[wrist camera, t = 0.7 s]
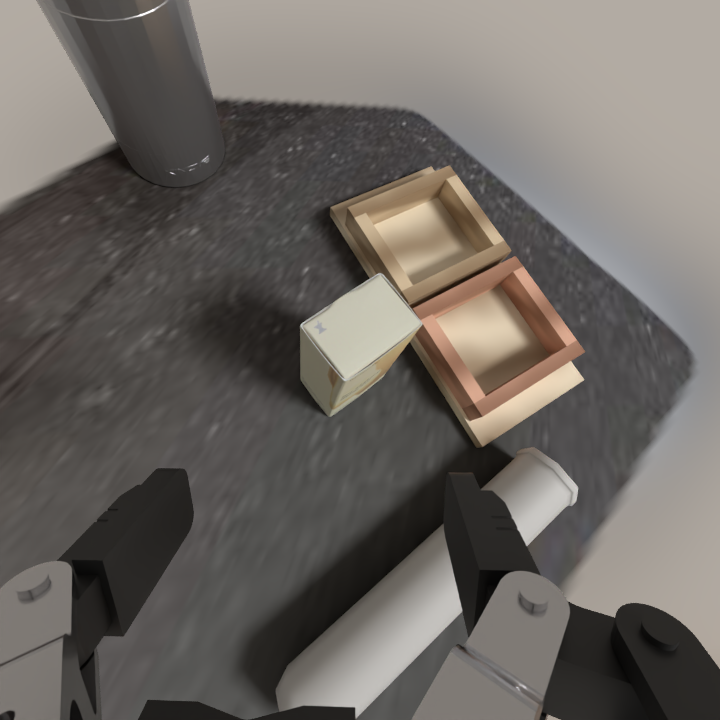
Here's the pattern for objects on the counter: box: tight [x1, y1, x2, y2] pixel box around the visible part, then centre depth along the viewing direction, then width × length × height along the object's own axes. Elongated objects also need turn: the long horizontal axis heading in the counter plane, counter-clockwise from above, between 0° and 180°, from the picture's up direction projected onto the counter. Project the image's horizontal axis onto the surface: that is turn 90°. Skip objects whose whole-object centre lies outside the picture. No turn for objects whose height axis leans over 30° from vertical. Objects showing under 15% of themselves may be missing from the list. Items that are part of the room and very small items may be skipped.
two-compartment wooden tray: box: [330, 166, 585, 448], centre depth 35 cm, size 26×12×4 cm, turn 31°
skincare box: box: [300, 273, 422, 417], centre depth 28 cm, size 6×4×12 cm
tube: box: [275, 447, 578, 718], centre depth 27 cm, size 5×5×25 cm
